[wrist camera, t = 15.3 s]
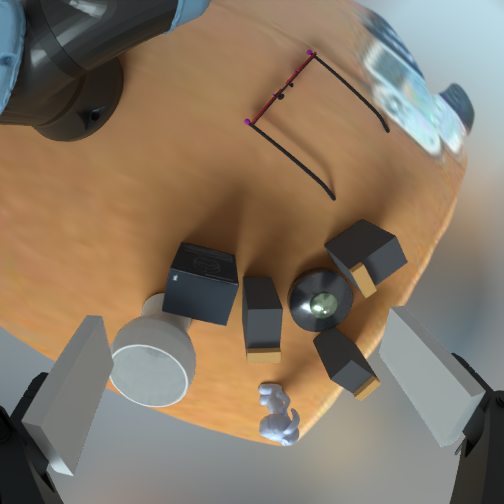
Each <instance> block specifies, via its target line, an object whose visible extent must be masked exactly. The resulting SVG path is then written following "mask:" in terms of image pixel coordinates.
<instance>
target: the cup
mask: <svg viewBox="0 0 504 504" xmlns="http://www.w3.org/2000/svg"><path fill="white" fill-rule="evenodd" d="M164 295H165V293H160V294H155V295H153V296H151V297H150V298H149V299H148V300H146V302H145V304H144V305H143V309H142V313H141V316H140V317H138V318H136V319H133V320H132V321H130V322H129V323H127V324H126V325H125V326H124V327H123V328H121V329H120V330H119V332H118V334H117V335H116V337H115V339H114V341H113V343H112V345H111V347H110V351H111V355H112V359H113V362H114V367H113V369H112V372H111V374H110V379H111V381H112V383H113V385H114V386H115V387H116V388H117V390H118V391H119V392H120V393H121V394H123V395H124V396H125V397H126V398H128V399H130V400H132V401H134V402H136V403H138V404H141V405H145V406H150V407H165V406H168V405H172V404H174V403H176V402H178V401H179V400H181V399H182V398H183V396H184V395H185V394H186V393H187V391H188V389H189V387H190V385H191V383H192V380H193V378H194V375H195V367H196V354H195V351H194V348H193V345H192V342H191V339H190V337H189V335H188V334H187V331H188V329H189V327H190V324H191V318H188V317H183V316H179V315H175V314H171V313H167V312H163V311H162V305H163V300H164Z"/></svg>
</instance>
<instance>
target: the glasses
mask: <svg viewBox="0 0 504 504" xmlns="http://www.w3.org/2000/svg"><path fill="white" fill-rule="evenodd" d="M307 54H308V55H311V56H310V57H309V58H308V60H307V61H306V62H305V63H304V64H303V65H302V66H301V67H300V68H299V69H298V70H297V71H296V70H294V71H295V73H294V74H293V76H292V77H291V78H290V79H289V80H287V82H286V84H287V85H286V86H285V87H284V88H283V89H280V90H279V91H278V92H277V93H276V94H273V96H274V97H273V98H272V99H271V100H270V101H269V102H268V103H267V105H266V106H265V107H264V108H263V109H262V110H261V112H260V113H259V114H258V115H257V116H256V117H255V119H254V120H253V121H252V122H251V123H250V120H249V119H245V121H244V122H245V124H248V125H249V126H251V127H252V128H253V129H255V130H256V131H257V132H258V133H260V134H261V135H262V136H263V137H265V138H266V139H267V140H268V141H270V142H271V143H272V144H273V145H274V146H276V147H277V148H278V149H279V150H281V151H282V152H283V153H284V154H285V155H286V156H288V157H289V158H290V159H291V160H292V161H294V162H295V163H296V164H297V165H298V166H299V167H301V168H302V169H303V170H304V171H305V172H306V173H307V174H309V175H310V176H311V177H312V178H313V179H314V180H315V181H317V182H318V183H319V184H320V185H321V186H322V187H323V188H324V189H325V191H326V192H327V193H328V195H329V196H330V197H331V199H332V200H333V201H335V200H336V198H335V196H334V195H333V194H332V192H331V191H330V190H329V188H328V187H327V186H326V185H325V184H324V183H323V182H322V181H321V180H320V179H319V178H318V177H317V176H316V175H315V174H313V173H312V172H311V171H310V170H309V169H308V168H307V167H305V166H304V165H303V164H302V163H301V162H299V161H298V160H297V159H296V158H295V157H293V156H292V155H291V154H290V153H289V152H287V151H286V150H285V149H284V148H282V147H281V146H280V145H279V144H277V143H276V142H275V141H274V140H272V139H271V138H270V137H269V136H267V135H266V134H265V133H264V132H262V131H261V130H260V129H259V128H257V127H256V126H255V125H254V124H255V123H256V122H257V120H258V119H259V118H260V117H261V116H262V115H263V113H264V112H265V111H266V110H267V109H268V108H269V106H270V105H271V104H272V103H273V102H274V101H275V100H276V98H277V97H278V99H279V100H281V99H283V98H284V94H281V93H282V92H283V91H284V89H285V88H286V87H287V86H288V85H289V86H290V87H293V83H291V82H292V81H293V80H294V78H295V77H296V76H297V75H298V74H299V73H300V72H301V71H302V70H303V69H304V68H305V67H306V65H307V64H308V63H309V62H310V61H311V60H312V59H313V58H315V59H316V60H317V61H319V62H320V63H321V64H322V65H323V66H325V67H326V68H327V69H328V70H329V71H330V72H332V73H333V74H334V75H335V76H336V77H337V78H338V79H339V80H341V81H342V82H343V83H344V84H345V85H346V86H347V87H348V88H349V89H350V90H351V91H352V92H354V93H355V94H356V95H357V96H358V97H359V98H360V99H361V100H362V101H363V102H364V103H365V104H366V105H367V106H368V107H369V108H370V109H371V110H372V111H373V112H374V113H375V114H376V115H377V117H378V118H379V119H380V121H381V123H382V125H383V127H384V128H385V130H386V132H387V133H389V129H388V127H387V125H386V123H385V121H384V120H383V118H382V116H381V115H380V114H379V113H378V111H377V110H376V109H375V108H374V107H373V106H372V105H371V104H370V103H369V102H368V101H367V100H366V99H365V98H364V97H362V96H361V95H360V94H359V93H358V92H357V91H356V90H355V89H354V88H353V87H352V86H351V85H350V84H349V83H347V82H346V81H345V80H344V79H343V78H342V77H341V76H340V75H338V74H337V73H336V72H335V71H334V70H333V69H332V68H330V67H329V66H328V65H327V64H326V63H324V62H323V61H322V60H321V59H320V58H318V57H317V56H316V55H317V54H316V52H314V53H312V51H311V50H308V51H307ZM290 83H291V84H290Z"/></svg>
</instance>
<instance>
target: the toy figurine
mask: <svg viewBox="0 0 504 504" xmlns="http://www.w3.org/2000/svg"><path fill="white" fill-rule="evenodd" d="M258 390H259V392H260V393H261V394H262V395H261V396H260V399H259V402H260V403H261V404H262V405H267V408H268V410H269V411H270V412H271V414H270V415H268V416H266V417H264V418H263V419H262V420H261V422H260V427H259V432H260V434H261V435H262V436H263V437H267V438H268V439H270V440H273V441H280V443H281V444H282V445H284V446H286V445H292V444H294V443H295V442H296V441H297V440H298V438H299V429H298V427H297V426H298V424H299V421H300V417H299V414H298V412H297V411H296V410H295V409H293V408H292V409H291V412H292V415H293V420H292V421H291V420H290V417H289V416H288V413H287V408H288V406H289V404H290V398H289V396H288V395H287V394H286V393H285V392H283V391H282V386H281V385H279V384H271V383H268V384H264V383H263V384H261V385H260V387H258ZM268 394H270V395H268ZM282 400H283V401H284V402H285V403H283V401H282Z"/></svg>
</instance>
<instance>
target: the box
mask: <svg viewBox="0 0 504 504" xmlns="http://www.w3.org/2000/svg"><path fill="white" fill-rule="evenodd" d="M238 287H239V281H238V274H237V267H236V260H235V256H234V255H232V254H228V253H224V252H220V251H216V250H212V249H208V248H204V247H200V246H196V245H192V244H188V243H184V242H181V245H180V247H179V249H178V251H177V254H176V256H175V258H174V261H173V263H172V265H171V268H170V270H169V275H168V280H167V285H166V290H165V295H164V300H163V305H162V311H163V312H167V313H171V314H175V315H179V316H183V317H188V318H192V319H196V320H201V321H205V322H209V323H214V324H218V325H223V326H226V324H227V321H228V318H229V315H230V311H231V308H232V305H233V302H234V299H235V296H236V293H237V290H238Z"/></svg>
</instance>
